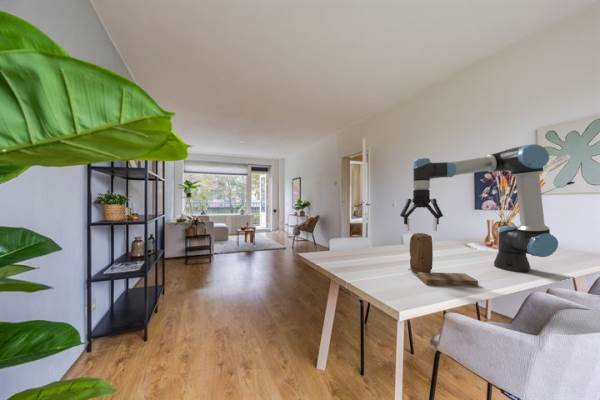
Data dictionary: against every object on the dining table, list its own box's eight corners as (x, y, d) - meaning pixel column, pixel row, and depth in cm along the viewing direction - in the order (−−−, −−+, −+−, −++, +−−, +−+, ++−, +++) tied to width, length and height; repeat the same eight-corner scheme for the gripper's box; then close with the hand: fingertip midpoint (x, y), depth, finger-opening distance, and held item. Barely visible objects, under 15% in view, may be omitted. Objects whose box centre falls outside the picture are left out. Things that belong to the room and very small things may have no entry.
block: (433, 275, 121) (434, 235, 120) (419, 276, 120) (420, 235, 119) (420, 268, 131) (420, 232, 131) (407, 269, 130) (407, 232, 130)
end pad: (425, 269, 131) (425, 269, 131) (435, 277, 119) (435, 276, 119) (407, 269, 132) (407, 268, 132) (416, 276, 120) (416, 276, 120)
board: (464, 278, 118) (464, 273, 118) (477, 286, 108) (477, 280, 108) (417, 277, 119) (417, 271, 119) (426, 284, 109) (426, 279, 109)
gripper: (443, 189, 127) (442, 229, 128) (394, 189, 129) (393, 229, 130) (450, 188, 120) (450, 232, 120) (398, 189, 121) (398, 231, 122)
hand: (421, 230), depth 125 cm, fingers open, 13 cm apart
